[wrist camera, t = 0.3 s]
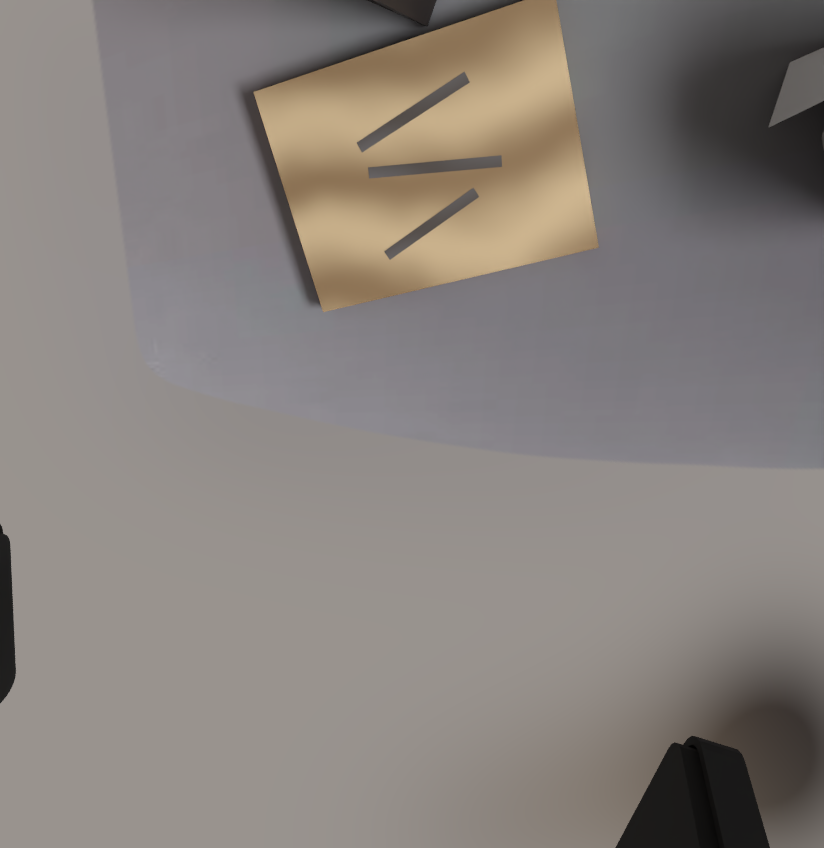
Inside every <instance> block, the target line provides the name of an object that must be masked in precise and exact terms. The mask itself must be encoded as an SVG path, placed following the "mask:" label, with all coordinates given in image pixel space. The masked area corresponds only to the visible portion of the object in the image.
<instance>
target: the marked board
mask: <svg viewBox="0 0 824 848" xmlns="http://www.w3.org/2000/svg"><path fill="white" fill-rule="evenodd" d="M254 96H255V99H256V102H257V105H258V108H259V111H260V115H261V118H262V121H263V124H264V127H265V130H266V133H267V137H268V140H269V143H270V146H271V149H272V152H273V156H274V159H275V162H276V165H277V168H278V171H279V174H280V178H281V181H282V184H283V187H284V190H285V193H286V197H287V200H288V203H289V206H290V209H291V212H292V215H293V219H294V222H295V225H296V228H297V231H298V234H299V237H300V241H301V244H302V247H303V250H304V253H305V256H306V260H307V263H308V266H309V269H310V272H311V275H312V278H313V282H314V285H315V288H316V291H317V294H318V297H319V301H320V304H321V307H322V310H323V312H326V311H330V310H334V309H338V308H343V307H347V306H351V305H356V304H360V303H364V302H368V301H373V300H377V299H381V298H385V297H390V296H394V295H398V294H402V293H407V292H411V291H415V290H420V289H424V288H428V287H432V286H437V285H441V284H445V283H449V282H454V281H458V280H462V279H466V278H471V277H475V276H479V275H483V274H488V273H492V272H496V271H501V270H505V269H509V268H513V267H518V266H522V265H526V264H530V263H535V262H539V261H543V260H547V259H552V258H556V257H560V256H565V255H569V254H573V253H577V252H582V251H586V250H590V249H594V248H599V246H598V241H597V235H596V229H595V223H594V217H593V212H592V206H591V200H590V194H589V188H588V182H587V177H586V171H585V165H584V159H583V153H582V148H581V142H580V136H579V130H578V124H577V119H576V113H575V107H574V101H573V95H572V90H571V84H570V78H569V72H568V66H567V60H566V55H565V49H564V43H563V37H562V31H561V26H560V20H559V14H558V8H557V2H556V0H523V1H520V2H517V3H514V4H512V5H509V6H506V7H503V8H500V9H497V10H494V11H491V12H488V13H485V14H482V15H479V16H476V17H473V18H470V19H467V20H464V21H461V22H458V23H456V24H453V25H450V26H447V27H444V28H441V29H438V30H435V31H432V32H429V33H426V34H423V35H420V36H417V37H414V38H411V39H408V40H405V41H402V42H400V43H397V44H394V45H391V46H388V47H385V48H382V49H379V50H376V51H373V52H370V53H367V54H364V55H361V56H358V57H355V58H352V59H349V60H347V61H344V62H341V63H338V64H335V65H332V66H329V67H326V68H323V69H320V70H317V71H314V72H311V73H308V74H305V75H302V76H299V77H296V78H293V79H291V80H288V81H285V82H282V83H279V84H276V85H273V86H270V87H267V88H264V89H261V90H258V91H255V92H254Z"/></svg>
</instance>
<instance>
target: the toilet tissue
mask: <svg viewBox="0 0 824 848" xmlns="http://www.w3.org/2000/svg"><path fill="white" fill-rule="evenodd" d="M822 101H824V47H823V48H821V49H819V50H817V51H814V52H812V53H810V54H808V55H806V56H803V57H801V58H799V59H797V60H794V61H792V62H790V63H789V66H788V69H787V72H786V75H785V78H784V81H783V84H782V88H781V91H780V94H779V97H778V100H777V103H776V106H775V109H774V112H773V115H772V118H771V121H770V124H769V127H771V126H773V125H775V124H777V123H779V122H781V121H783V120H785V119H787V118H790V117H792V116H794V115H796V114H798V113H800V112H802V111H804V110H806V109H808V108H810V107H812V106H814V105H816V104H818V103H820V102H822ZM769 127H768V128H769ZM822 142H823V149H824V132H823V134H822Z"/></svg>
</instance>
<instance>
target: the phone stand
mask: <svg viewBox="0 0 824 848" xmlns="http://www.w3.org/2000/svg"><path fill="white" fill-rule="evenodd" d="M368 1H370V2H372V3H375V4H377V5H379V6H381V7H384V8H386V9H388V10H391V11H393V12H395V13H397V14H400V15H402V16H404V17H407V18H409V19H411V20H413V21H416V22H418V23H420V24H423V25H425V26H428V23H429V20H430V17H431V14H432V11H433V9H434V6H435V3H436V0H368Z"/></svg>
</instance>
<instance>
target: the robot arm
mask: <svg viewBox="0 0 824 848" xmlns="http://www.w3.org/2000/svg"><path fill="white" fill-rule="evenodd" d="M15 674H16V667H15V646H14V622H13V599H12V575H11V553H10V541H9V538H8V536H7V535H5V534H3V530H2V526H1V525H0V703H1V702H2V701H3V700H4V698H5V697H6V696H7V694H8V693H9V691H10V689H11V687H12V685H13V683H14V679H15ZM616 848H770V847H769V843H768V840H767V836H766V833H765V829H764V826H763V822H762V819H761V816H760V812H759V809H758V805H757V802H756V799H755V795H754V792H753V788H752V784H751V781H750V777H749V775H748V771H747V767H746V764H745V761H744V758H743V756H742V754H741V753H740V752H739V751H738V750H737V749H734V748H731V747H728V746H724V745H721V744H718V743H714V742H711V741H708V740H705V739H702V738H699V737H695V736H691V737H690V738H688V739H687V740H686V742H685V743H684V745H681V744H678V743H673V744H671V746H670V747H669V749H668V750H667V753H666V754H665V756H664V758H663V760H662V762H661V764H660V765H659V768H658V769H657V771H656V773H655V775H654V777H653V778H652V780H651V782H650V785H649V786H648V788H647V790H646V792H645V793H644V795H643V797H642V799H641V801H640V803H639V805H638V807H637V809H636V810H635V812H634V814H633V816H632V818H631V820H630V822H629V823H628V825H627V827H626V829H625V831H624V833H623V835H622V837H621V838H620V841H619V842H618V844H617V846H616Z"/></svg>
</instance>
